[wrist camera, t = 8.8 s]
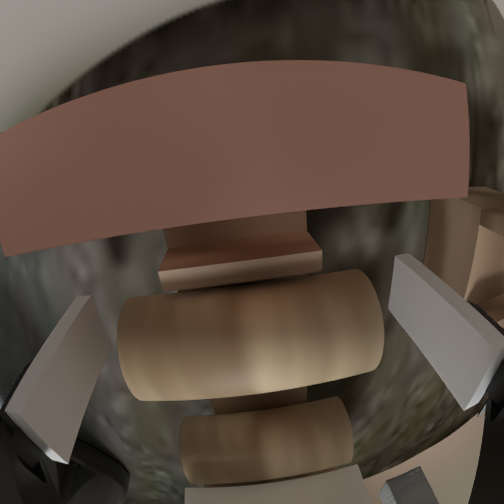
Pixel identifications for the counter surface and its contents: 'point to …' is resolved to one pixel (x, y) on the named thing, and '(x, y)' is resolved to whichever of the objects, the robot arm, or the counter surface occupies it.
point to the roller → (250, 337)
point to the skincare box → (408, 489)
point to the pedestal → (470, 247)
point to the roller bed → (264, 404)
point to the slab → (290, 491)
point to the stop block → (231, 149)
